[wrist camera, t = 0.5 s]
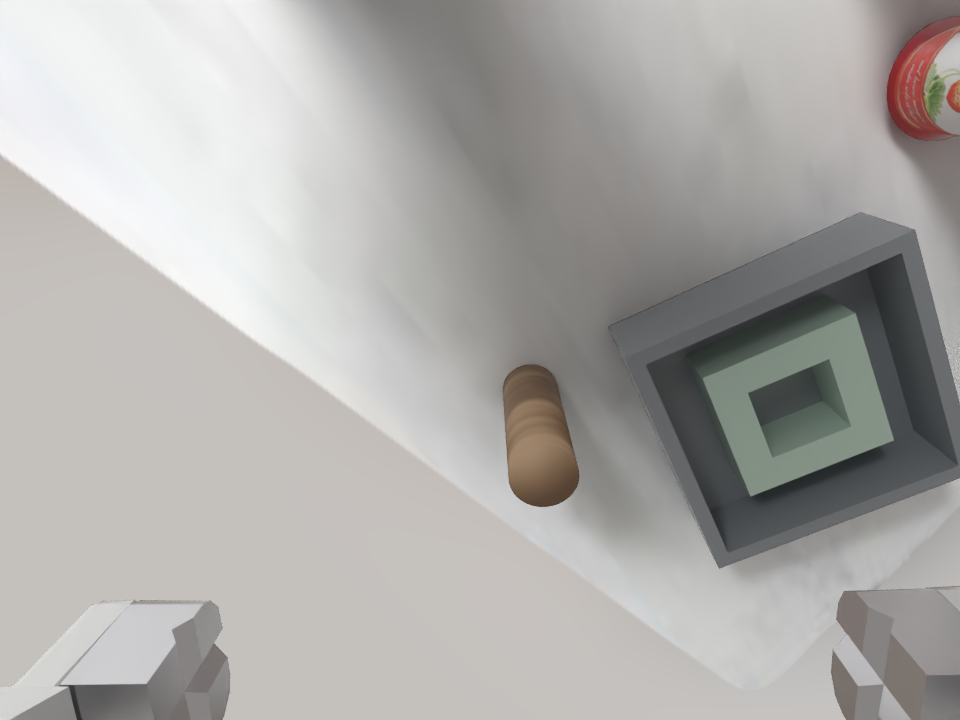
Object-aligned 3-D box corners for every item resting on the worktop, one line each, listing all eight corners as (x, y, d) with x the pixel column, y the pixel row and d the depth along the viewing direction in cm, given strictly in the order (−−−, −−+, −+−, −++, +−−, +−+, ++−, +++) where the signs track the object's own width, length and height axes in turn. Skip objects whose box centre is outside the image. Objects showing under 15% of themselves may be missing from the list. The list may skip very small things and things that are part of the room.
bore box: (608, 326, 47) (624, 358, 42) (860, 212, 44) (915, 229, 39) (694, 518, 53) (719, 568, 48) (922, 429, 50) (976, 471, 45)
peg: (493, 378, 49) (496, 462, 38) (543, 355, 48) (561, 435, 37) (517, 422, 50) (526, 516, 39) (566, 400, 49) (590, 490, 38)
